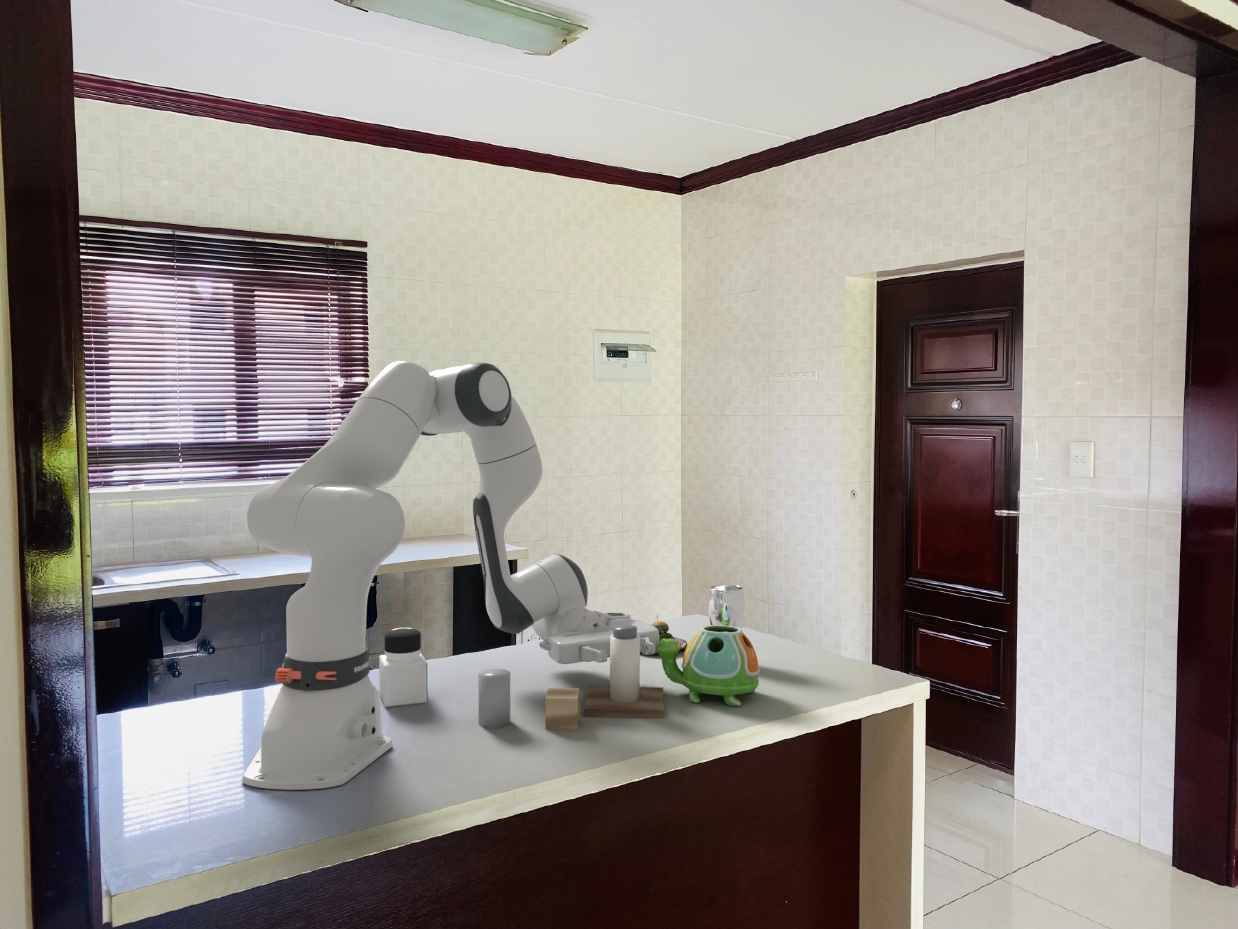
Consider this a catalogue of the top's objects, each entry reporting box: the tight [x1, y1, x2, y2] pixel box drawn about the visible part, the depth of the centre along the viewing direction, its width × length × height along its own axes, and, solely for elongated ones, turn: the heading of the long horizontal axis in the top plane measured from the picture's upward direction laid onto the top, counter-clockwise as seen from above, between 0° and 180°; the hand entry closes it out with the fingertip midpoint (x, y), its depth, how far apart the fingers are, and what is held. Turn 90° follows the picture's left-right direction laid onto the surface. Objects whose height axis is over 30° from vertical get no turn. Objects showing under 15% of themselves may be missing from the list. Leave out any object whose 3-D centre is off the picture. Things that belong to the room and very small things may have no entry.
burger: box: [650, 615, 688, 654], centre depth 187 cm, size 12×12×8 cm
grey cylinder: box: [477, 668, 511, 729], centre depth 144 cm, size 5×5×8 cm
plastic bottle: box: [609, 625, 641, 703], centre depth 152 cm, size 5×5×12 cm
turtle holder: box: [656, 624, 761, 707], centre depth 158 cm, size 12×18×12 cm
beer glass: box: [707, 583, 745, 633], centre depth 178 cm, size 7×7×15 cm
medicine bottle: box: [378, 627, 429, 708], centre depth 155 cm, size 7×7×12 cm
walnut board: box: [582, 685, 665, 719], centre depth 153 cm, size 12×13×1 cm
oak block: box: [544, 687, 581, 731], centre depth 144 cm, size 5×5×5 cm
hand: (627, 653), depth 152 cm, fingers open, 8 cm apart
